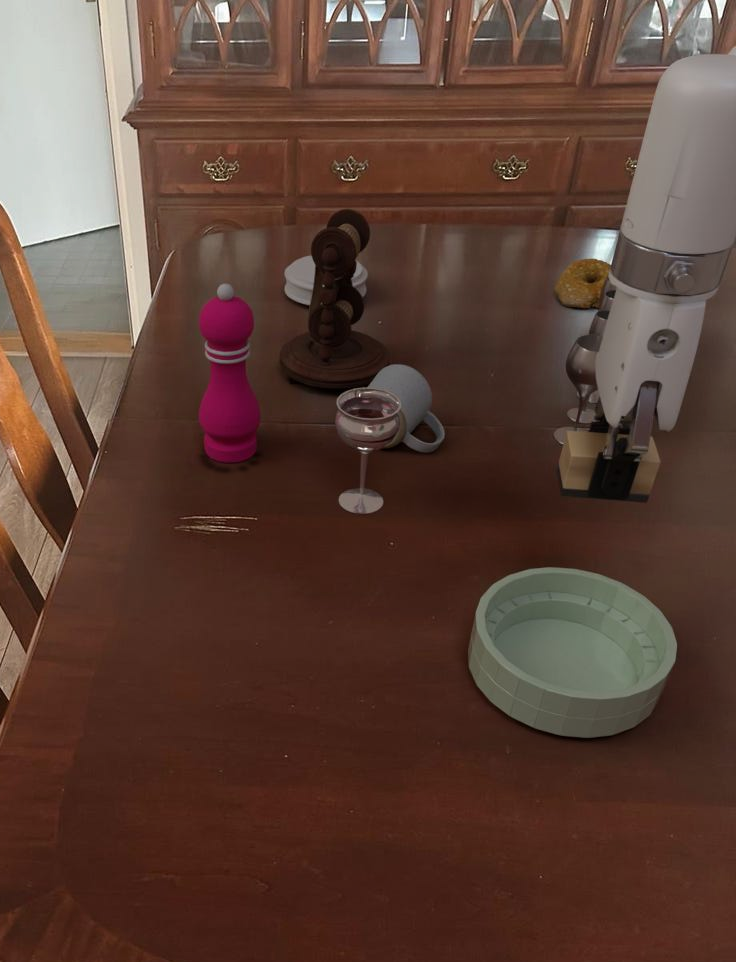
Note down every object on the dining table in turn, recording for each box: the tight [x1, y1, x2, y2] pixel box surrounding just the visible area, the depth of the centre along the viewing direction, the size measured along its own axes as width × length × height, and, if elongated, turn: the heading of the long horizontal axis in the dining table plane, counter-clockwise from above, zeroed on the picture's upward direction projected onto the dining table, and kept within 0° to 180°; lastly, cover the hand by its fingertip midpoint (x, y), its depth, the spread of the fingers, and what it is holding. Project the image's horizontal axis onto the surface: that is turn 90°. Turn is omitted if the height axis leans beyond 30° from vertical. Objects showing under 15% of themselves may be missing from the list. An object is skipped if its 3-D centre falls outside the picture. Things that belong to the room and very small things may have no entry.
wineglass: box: [334, 387, 401, 515], centre depth 99 cm, size 7×7×12 cm
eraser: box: [556, 431, 661, 504], centre depth 77 cm, size 7×4×4 cm, turn 82°
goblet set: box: [553, 276, 616, 445], centre depth 115 cm, size 28×6×13 cm, turn 154°
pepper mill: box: [198, 283, 262, 464], centre depth 104 cm, size 7×7×20 cm
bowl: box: [467, 566, 678, 739], centre depth 81 cm, size 17×17×6 cm
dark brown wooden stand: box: [279, 208, 391, 389], centre depth 118 cm, size 15×15×20 cm
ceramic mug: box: [366, 363, 446, 454], centre depth 110 cm, size 11×8×8 cm
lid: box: [284, 254, 368, 306], centre depth 142 cm, size 13×13×5 cm
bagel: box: [554, 258, 611, 309], centre depth 140 cm, size 10×11×5 cm
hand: (603, 478), depth 78 cm, fingers closed on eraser, 4 cm apart
